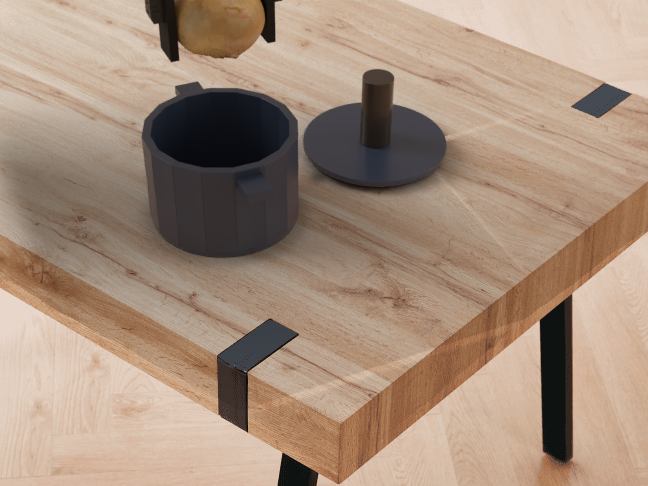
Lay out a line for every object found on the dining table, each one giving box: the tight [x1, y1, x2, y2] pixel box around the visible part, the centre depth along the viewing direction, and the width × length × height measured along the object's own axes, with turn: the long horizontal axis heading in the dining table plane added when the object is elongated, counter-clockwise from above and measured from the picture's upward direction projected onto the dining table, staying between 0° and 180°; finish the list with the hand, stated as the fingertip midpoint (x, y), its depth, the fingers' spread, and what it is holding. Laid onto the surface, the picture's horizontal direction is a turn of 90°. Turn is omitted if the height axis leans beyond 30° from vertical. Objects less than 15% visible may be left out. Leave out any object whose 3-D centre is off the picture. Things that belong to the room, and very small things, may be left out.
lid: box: [302, 68, 448, 188], centre depth 110 cm, size 15×15×9 cm
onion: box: [174, 0, 265, 60], centre depth 91 cm, size 8×8×7 cm
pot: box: [141, 80, 299, 258], centre depth 101 cm, size 14×19×10 cm
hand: (218, 44), depth 93 cm, fingers closed on onion, 8 cm apart
